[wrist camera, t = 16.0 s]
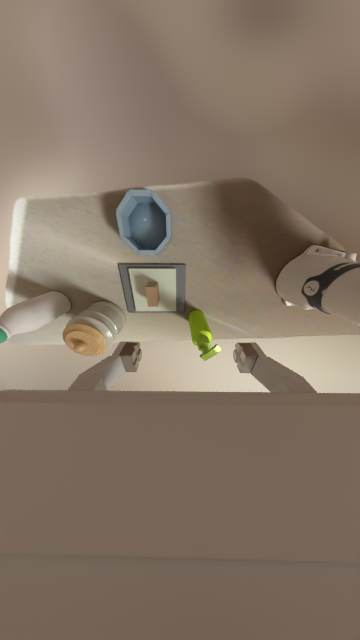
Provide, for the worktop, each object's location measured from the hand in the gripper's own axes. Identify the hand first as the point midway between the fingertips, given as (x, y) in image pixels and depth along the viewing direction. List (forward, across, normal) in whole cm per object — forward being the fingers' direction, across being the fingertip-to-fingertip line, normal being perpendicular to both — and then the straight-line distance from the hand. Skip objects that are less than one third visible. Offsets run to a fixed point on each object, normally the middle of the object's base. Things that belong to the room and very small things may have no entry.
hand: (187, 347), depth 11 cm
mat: (+34, +9, +6) cm, 36 cm away
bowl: (+34, +9, -11) cm, 37 cm away
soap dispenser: (+35, -6, +16) cm, 39 cm away
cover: (+34, +9, +6) cm, 35 cm away
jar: (+34, +28, +16) cm, 46 cm away
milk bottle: (+33, +42, +10) cm, 55 cm away
